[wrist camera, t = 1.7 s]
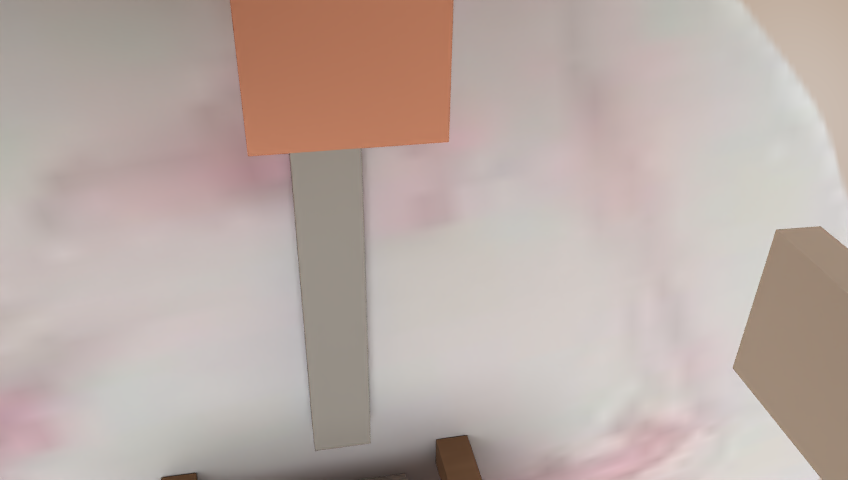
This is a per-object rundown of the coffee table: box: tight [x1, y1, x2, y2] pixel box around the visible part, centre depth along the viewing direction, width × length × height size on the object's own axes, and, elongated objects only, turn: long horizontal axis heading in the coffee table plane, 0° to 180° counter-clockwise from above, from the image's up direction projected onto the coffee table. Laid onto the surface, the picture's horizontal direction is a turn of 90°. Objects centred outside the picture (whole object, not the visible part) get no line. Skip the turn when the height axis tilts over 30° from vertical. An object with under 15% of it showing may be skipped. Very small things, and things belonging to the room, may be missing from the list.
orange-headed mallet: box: [230, 0, 453, 451], centre depth 25 cm, size 22×4×10 cm, turn 179°
